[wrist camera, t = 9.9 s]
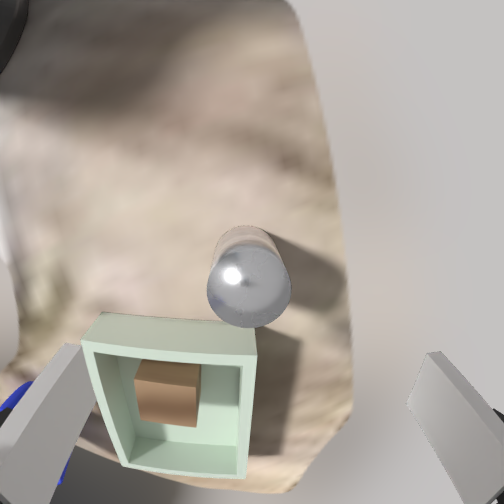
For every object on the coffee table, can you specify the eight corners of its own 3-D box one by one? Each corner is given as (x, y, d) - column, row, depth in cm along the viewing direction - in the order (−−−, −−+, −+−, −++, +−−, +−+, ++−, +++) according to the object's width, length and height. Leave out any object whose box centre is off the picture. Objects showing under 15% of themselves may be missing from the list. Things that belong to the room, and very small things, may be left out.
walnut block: (147, 345, 26) (133, 379, 21) (201, 351, 27) (195, 387, 22) (151, 385, 28) (140, 420, 23) (201, 391, 28) (196, 427, 23)
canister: (215, 224, 24) (207, 248, 17) (279, 227, 24) (295, 252, 18) (214, 283, 25) (206, 326, 19) (274, 286, 26) (286, 328, 19)
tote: (102, 311, 26) (80, 339, 21) (253, 322, 27) (257, 355, 22) (131, 436, 31) (122, 466, 26) (244, 446, 32) (245, 478, 27)
